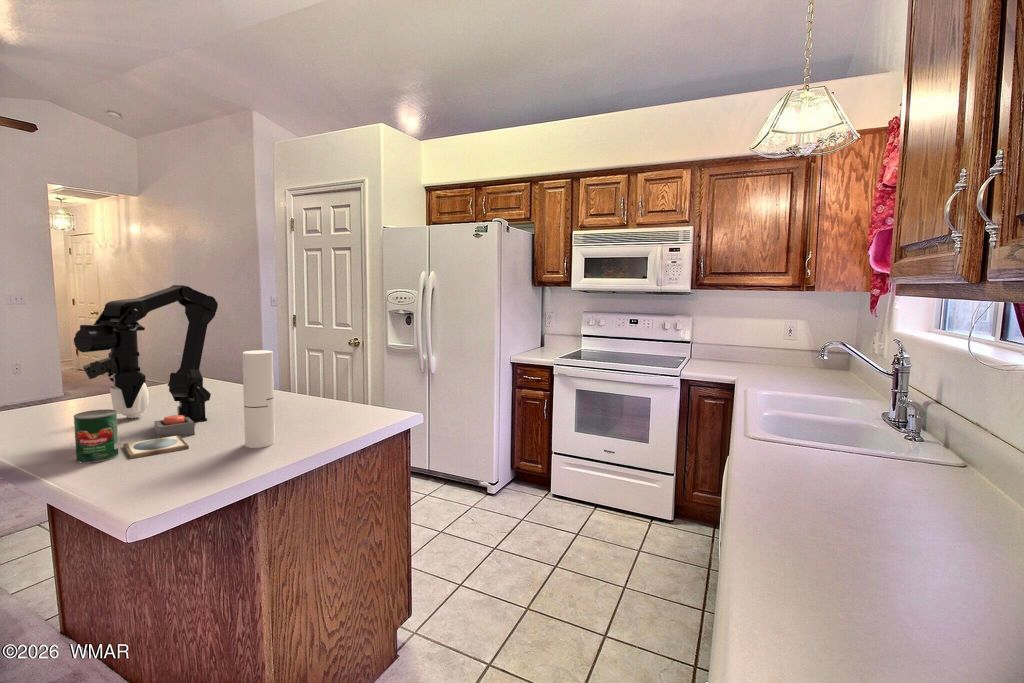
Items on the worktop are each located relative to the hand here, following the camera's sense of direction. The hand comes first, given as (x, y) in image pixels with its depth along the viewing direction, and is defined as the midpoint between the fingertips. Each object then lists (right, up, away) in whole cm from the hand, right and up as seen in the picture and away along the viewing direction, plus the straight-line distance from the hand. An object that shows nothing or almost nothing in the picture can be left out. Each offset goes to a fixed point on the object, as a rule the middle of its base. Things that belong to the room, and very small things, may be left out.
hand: (127, 405), depth 131 cm
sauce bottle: (-15, -7, +22) cm, 27 cm away
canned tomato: (+4, -11, -14) cm, 18 cm away
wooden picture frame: (+12, -10, -5) cm, 16 cm away
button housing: (+8, -9, +7) cm, 14 cm away
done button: (+8, -6, +6) cm, 12 cm away
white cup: (0, -2, 0) cm, 2 cm away
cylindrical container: (+36, -11, 0) cm, 37 cm away
